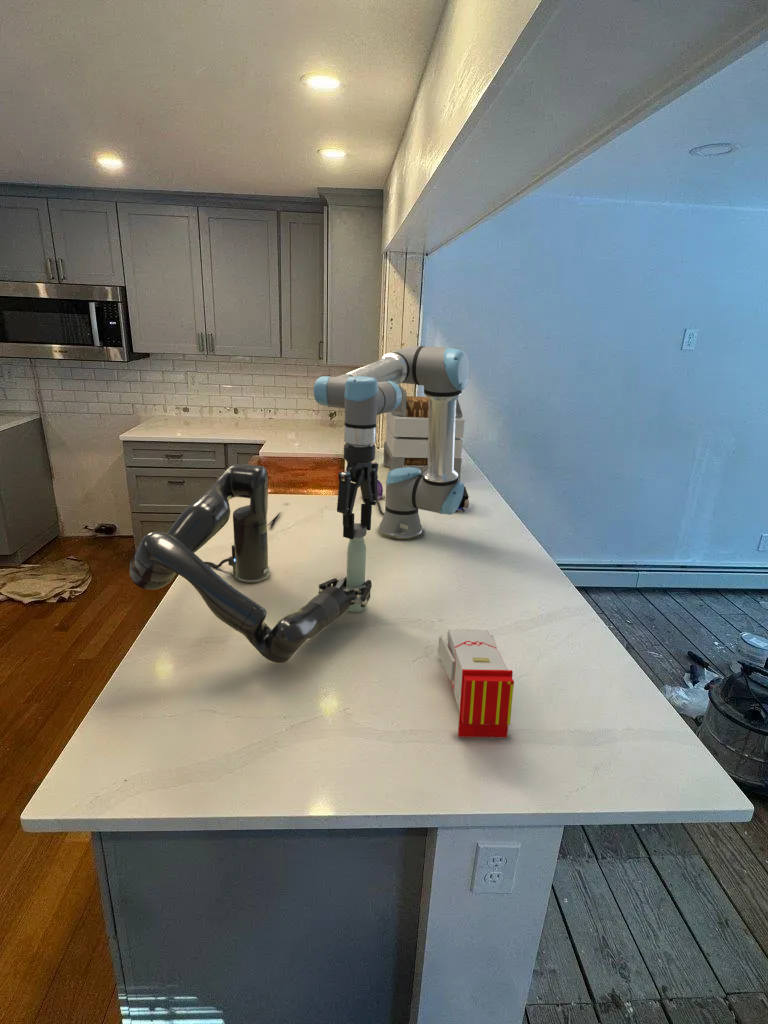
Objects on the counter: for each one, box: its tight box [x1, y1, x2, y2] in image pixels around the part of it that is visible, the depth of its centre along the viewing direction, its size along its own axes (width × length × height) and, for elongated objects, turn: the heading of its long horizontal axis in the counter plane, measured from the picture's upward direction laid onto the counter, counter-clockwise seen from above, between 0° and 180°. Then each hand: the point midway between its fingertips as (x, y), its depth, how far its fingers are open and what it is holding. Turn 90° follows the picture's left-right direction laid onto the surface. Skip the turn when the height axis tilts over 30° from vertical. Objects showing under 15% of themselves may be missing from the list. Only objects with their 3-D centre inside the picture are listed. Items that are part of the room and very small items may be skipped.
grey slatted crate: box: [383, 384, 465, 481], centre depth 268 cm, size 34×33×41 cm
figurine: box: [372, 461, 384, 501], centre depth 233 cm, size 9×10×15 cm
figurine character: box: [455, 486, 470, 513], centre depth 227 cm, size 7×8×15 cm
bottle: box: [346, 536, 367, 613], centre depth 146 cm, size 5×5×22 cm
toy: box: [437, 628, 515, 738], centre depth 117 cm, size 12×13×30 cm
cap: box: [354, 522, 368, 538], centre depth 142 cm, size 5×5×2 cm
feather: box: [267, 512, 281, 529], centre depth 211 cm, size 2×28×2 cm
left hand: (360, 580), depth 150 cm, fingers closed on bottle, 4 cm apart
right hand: (357, 533), depth 143 cm, fingers open, 7 cm apart
